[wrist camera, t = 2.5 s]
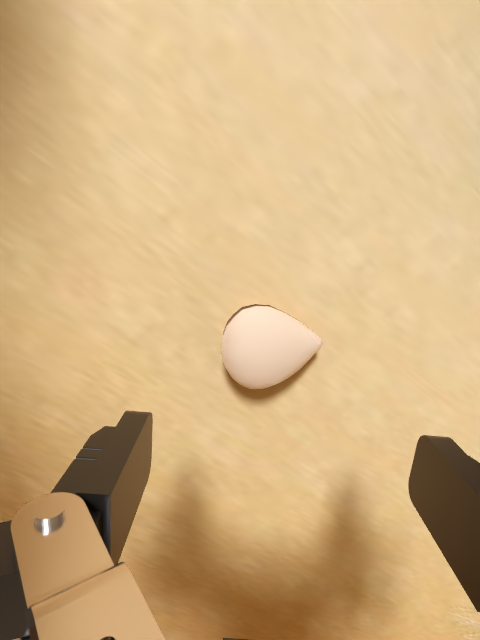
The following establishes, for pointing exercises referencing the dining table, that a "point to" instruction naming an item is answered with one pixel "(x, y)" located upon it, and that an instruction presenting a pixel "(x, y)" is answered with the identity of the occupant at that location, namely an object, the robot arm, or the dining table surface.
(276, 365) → the pistachio nut
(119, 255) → the dining table surface
